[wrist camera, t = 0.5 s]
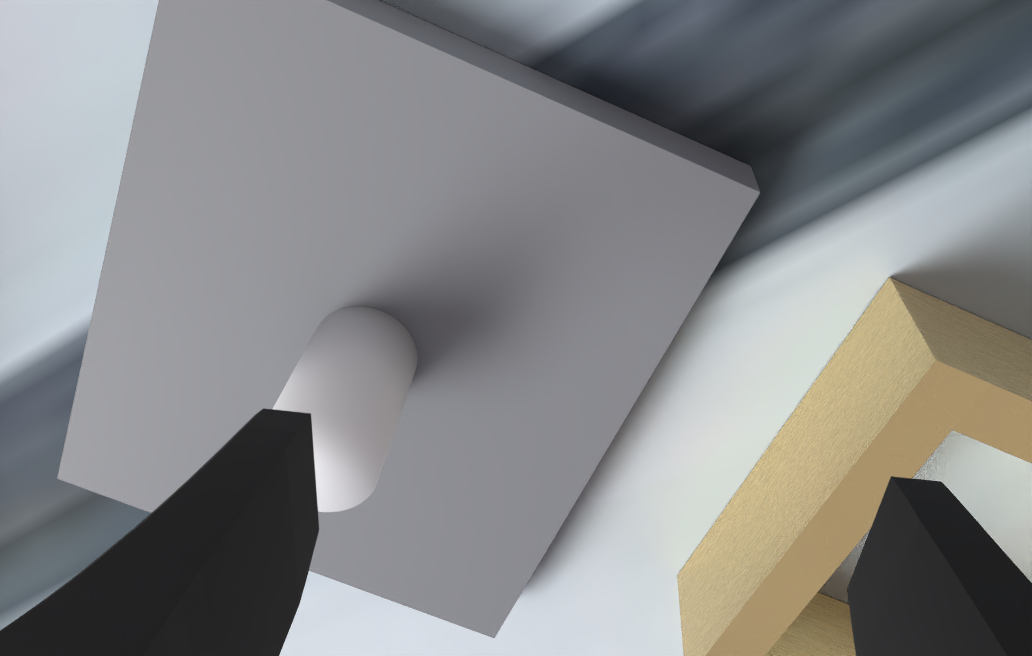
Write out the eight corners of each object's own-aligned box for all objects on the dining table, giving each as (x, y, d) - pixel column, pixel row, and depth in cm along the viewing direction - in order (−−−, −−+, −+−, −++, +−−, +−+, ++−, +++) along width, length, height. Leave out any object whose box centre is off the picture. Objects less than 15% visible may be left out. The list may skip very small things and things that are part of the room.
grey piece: (500, 596, 27) (475, 771, 22) (86, 443, 25) (-37, 594, 21) (750, 166, 20) (794, 284, 15) (204, -78, 19) (62, -31, 14)
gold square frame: (993, 696, 27) (1041, 811, 24) (677, 575, 26) (685, 680, 23) (1262, 441, 22) (1365, 544, 19) (889, 277, 21) (935, 359, 18)
